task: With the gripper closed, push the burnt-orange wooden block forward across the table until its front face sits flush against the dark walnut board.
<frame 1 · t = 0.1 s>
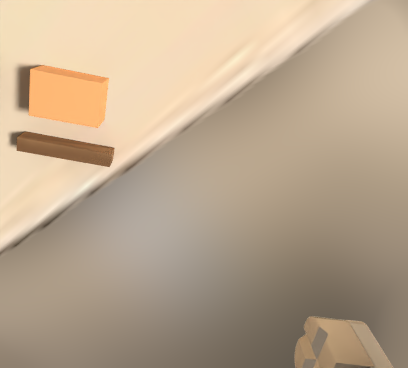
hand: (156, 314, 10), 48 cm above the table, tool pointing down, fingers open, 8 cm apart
orange block: (74, 92, 54), on the table
walnut board: (69, 146, 57), on the table
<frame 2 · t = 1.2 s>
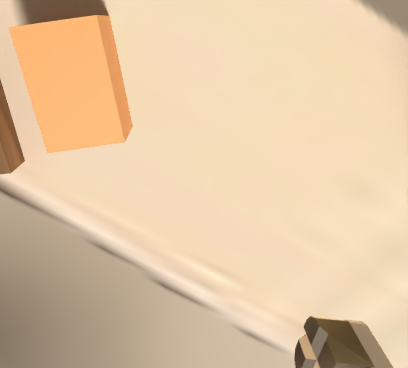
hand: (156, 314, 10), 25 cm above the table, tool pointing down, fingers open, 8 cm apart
orange block: (86, 78, 32), on the table
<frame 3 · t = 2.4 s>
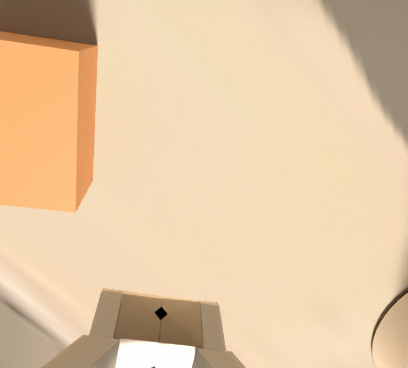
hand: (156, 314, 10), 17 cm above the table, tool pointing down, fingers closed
orange block: (48, 110, 25), on the table
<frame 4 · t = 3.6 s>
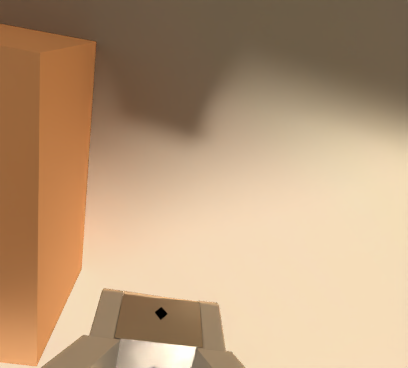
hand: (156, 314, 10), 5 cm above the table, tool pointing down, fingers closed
orange block: (6, 154, 14), on the table
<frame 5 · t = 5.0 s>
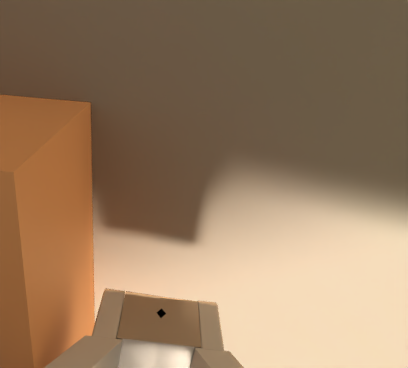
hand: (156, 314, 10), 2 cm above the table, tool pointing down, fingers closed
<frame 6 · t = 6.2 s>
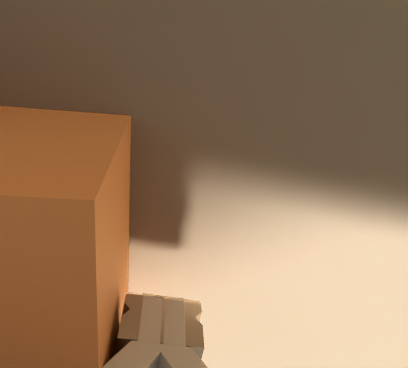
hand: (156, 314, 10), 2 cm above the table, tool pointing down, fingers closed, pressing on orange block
orange block: (27, 255, 11), on the table, touching gripper, walnut board
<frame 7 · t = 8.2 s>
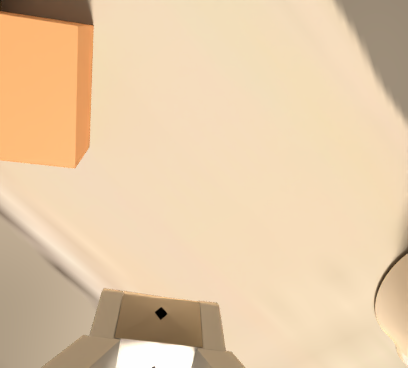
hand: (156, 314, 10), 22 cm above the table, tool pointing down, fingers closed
orange block: (50, 83, 28), on the table
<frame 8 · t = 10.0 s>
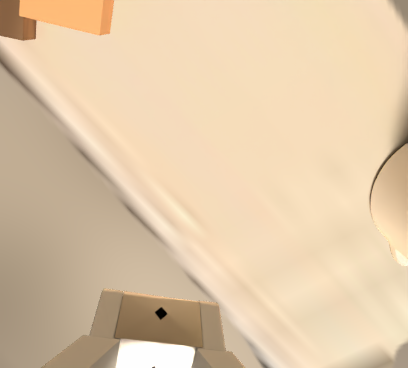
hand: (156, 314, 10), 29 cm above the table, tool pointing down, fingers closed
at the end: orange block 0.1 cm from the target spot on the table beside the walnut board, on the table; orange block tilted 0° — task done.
